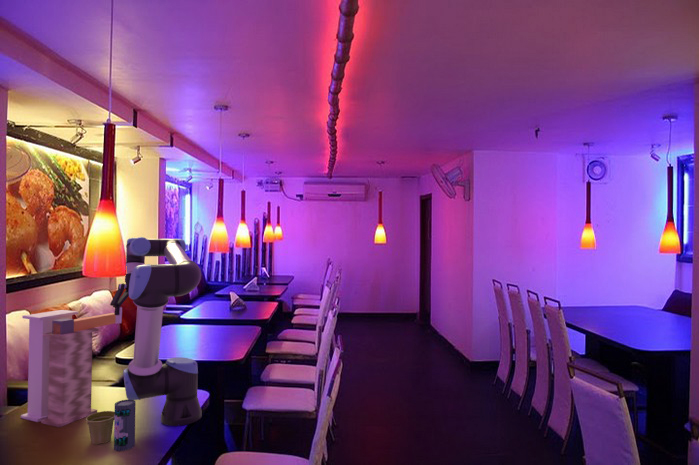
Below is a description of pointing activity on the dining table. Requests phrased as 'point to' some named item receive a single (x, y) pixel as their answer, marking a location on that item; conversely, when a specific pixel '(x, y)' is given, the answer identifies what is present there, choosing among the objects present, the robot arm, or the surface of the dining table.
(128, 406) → the can
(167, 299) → the robot arm
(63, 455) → the dining table surface
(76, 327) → the orange bar
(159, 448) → the dining table surface
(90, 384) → the birch stand
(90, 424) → the plant pot
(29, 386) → the grey stand
